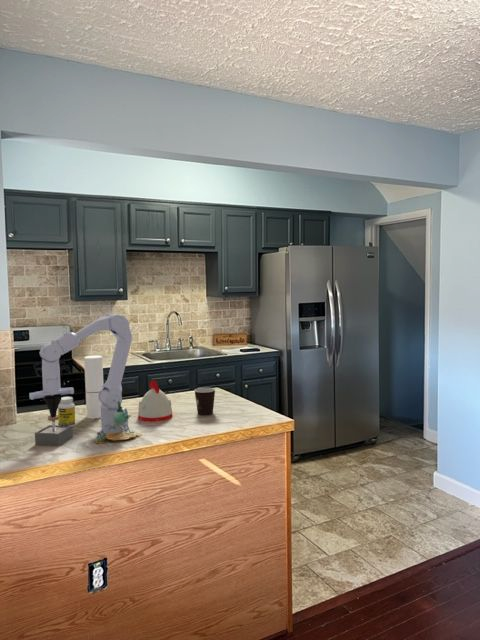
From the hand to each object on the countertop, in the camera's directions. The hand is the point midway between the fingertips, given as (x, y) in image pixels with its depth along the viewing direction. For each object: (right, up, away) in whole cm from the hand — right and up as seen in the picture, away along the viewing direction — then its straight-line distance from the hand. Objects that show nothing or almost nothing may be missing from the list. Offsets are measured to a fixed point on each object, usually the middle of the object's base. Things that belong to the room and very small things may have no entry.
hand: (53, 416), depth 172 cm
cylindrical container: (+6, -6, +31) cm, 32 cm away
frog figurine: (+22, -9, +3) cm, 24 cm away
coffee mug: (+51, -5, +35) cm, 62 cm away
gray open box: (0, -9, +1) cm, 9 cm away
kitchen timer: (+31, -6, +30) cm, 43 cm away
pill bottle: (-2, -8, +18) cm, 20 cm away
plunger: (0, -6, +1) cm, 6 cm away
